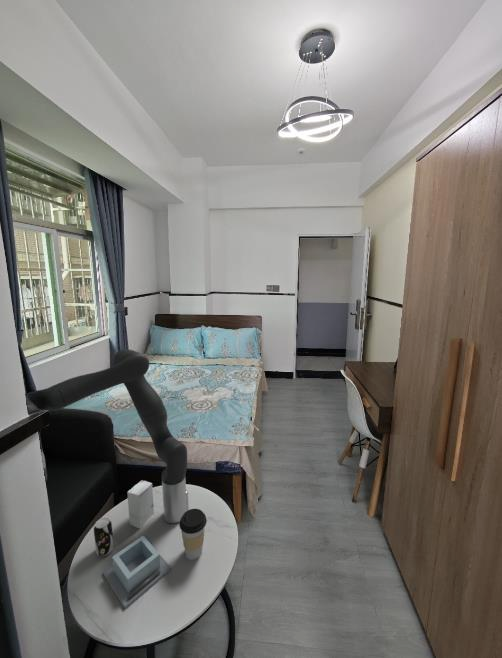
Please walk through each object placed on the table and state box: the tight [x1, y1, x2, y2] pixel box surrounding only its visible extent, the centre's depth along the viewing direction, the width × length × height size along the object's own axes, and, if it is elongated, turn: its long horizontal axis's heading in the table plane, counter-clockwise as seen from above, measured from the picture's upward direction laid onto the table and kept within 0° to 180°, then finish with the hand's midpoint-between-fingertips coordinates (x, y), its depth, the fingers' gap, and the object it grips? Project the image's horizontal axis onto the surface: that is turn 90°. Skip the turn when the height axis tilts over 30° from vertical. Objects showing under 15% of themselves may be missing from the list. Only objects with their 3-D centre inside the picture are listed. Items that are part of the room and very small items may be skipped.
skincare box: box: [126, 479, 155, 530], centre depth 118 cm, size 8×6×15 cm
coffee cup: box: [179, 508, 208, 561], centre depth 104 cm, size 9×9×15 cm
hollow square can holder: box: [102, 535, 172, 610], centre depth 98 cm, size 16×16×6 cm
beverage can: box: [93, 516, 115, 557], centre depth 105 cm, size 6×6×12 cm
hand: (36, 520), depth 82 cm, fingers open, 8 cm apart
